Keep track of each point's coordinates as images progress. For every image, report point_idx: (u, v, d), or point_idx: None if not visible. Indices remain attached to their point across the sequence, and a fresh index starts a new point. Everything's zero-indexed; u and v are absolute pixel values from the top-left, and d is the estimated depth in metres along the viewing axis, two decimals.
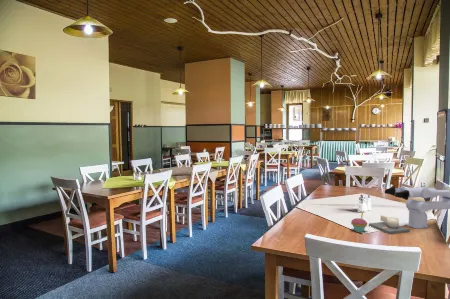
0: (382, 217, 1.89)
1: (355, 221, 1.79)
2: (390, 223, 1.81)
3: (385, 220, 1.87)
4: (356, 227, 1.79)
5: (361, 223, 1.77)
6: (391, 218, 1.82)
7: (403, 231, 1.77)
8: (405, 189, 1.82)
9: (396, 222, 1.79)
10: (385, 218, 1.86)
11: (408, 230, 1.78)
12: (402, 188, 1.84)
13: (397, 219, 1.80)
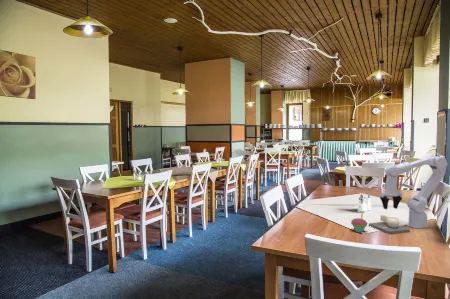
0: (382, 217, 1.89)
1: (355, 221, 1.79)
2: (390, 223, 1.81)
3: (385, 220, 1.87)
4: (356, 227, 1.79)
5: (361, 223, 1.77)
6: (391, 218, 1.82)
7: (403, 231, 1.77)
8: (397, 195, 1.87)
9: (396, 222, 1.79)
10: (385, 218, 1.86)
11: (408, 230, 1.78)
12: (394, 195, 1.87)
13: (397, 219, 1.80)
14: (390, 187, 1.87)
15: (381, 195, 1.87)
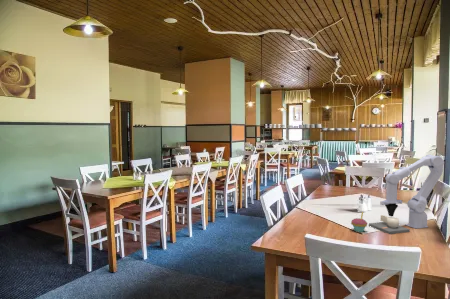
0: (382, 217, 1.89)
1: (355, 221, 1.79)
2: (390, 223, 1.81)
3: (385, 220, 1.87)
4: (356, 227, 1.79)
5: (361, 223, 1.77)
6: (391, 218, 1.82)
7: (403, 231, 1.77)
8: (397, 202, 1.87)
9: (396, 222, 1.79)
10: (385, 218, 1.86)
11: (408, 230, 1.78)
12: (394, 203, 1.87)
13: (397, 219, 1.80)
14: (390, 195, 1.87)
15: (381, 203, 1.87)
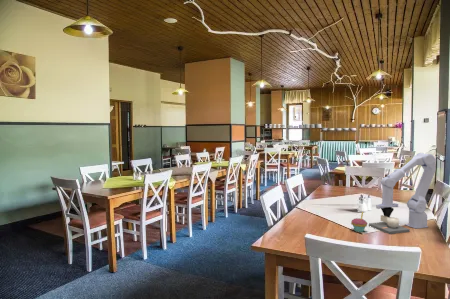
0: (382, 217, 1.89)
1: (355, 221, 1.79)
2: (390, 223, 1.81)
3: (385, 220, 1.87)
4: (356, 227, 1.79)
5: (361, 223, 1.77)
6: (391, 218, 1.82)
7: (403, 231, 1.77)
8: None
9: (396, 222, 1.79)
10: (385, 218, 1.86)
11: (408, 230, 1.78)
12: (390, 206, 1.86)
13: (397, 219, 1.80)
14: (386, 198, 1.86)
15: (377, 206, 1.86)
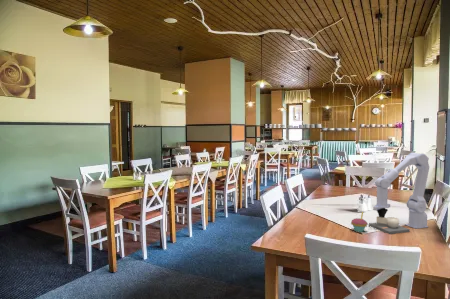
0: (379, 218, 1.86)
1: (355, 221, 1.79)
2: (394, 224, 1.79)
3: (383, 221, 1.84)
4: (356, 227, 1.79)
5: (361, 223, 1.77)
6: (391, 218, 1.82)
7: (403, 231, 1.77)
8: None
9: (398, 222, 1.80)
10: (383, 219, 1.84)
11: (408, 230, 1.78)
12: (386, 207, 1.85)
13: (397, 218, 1.82)
14: (382, 199, 1.84)
15: (375, 208, 1.83)
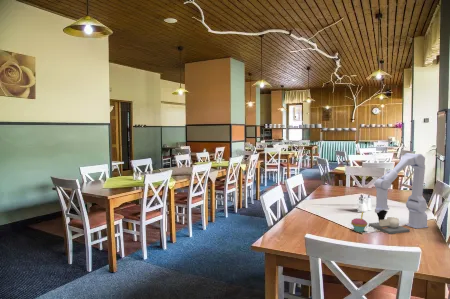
0: (383, 221, 1.80)
1: (355, 221, 1.79)
2: (398, 224, 1.80)
3: (387, 223, 1.80)
4: (356, 227, 1.79)
5: (361, 223, 1.77)
6: (392, 218, 1.82)
7: (403, 231, 1.77)
8: None
9: None
10: (387, 221, 1.80)
11: (408, 230, 1.78)
12: None
13: None
14: (383, 201, 1.79)
15: (376, 210, 1.77)
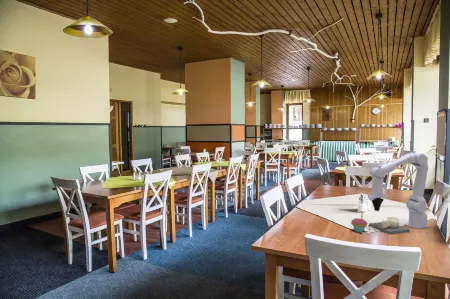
0: (386, 222, 1.78)
1: (355, 221, 1.79)
2: (398, 223, 1.80)
3: (388, 224, 1.79)
4: (356, 227, 1.79)
5: (361, 223, 1.77)
6: (393, 219, 1.81)
7: (403, 231, 1.77)
8: None
9: None
10: (389, 222, 1.79)
11: (408, 230, 1.78)
12: None
13: (393, 217, 1.84)
14: (377, 189, 1.82)
15: (370, 198, 1.80)
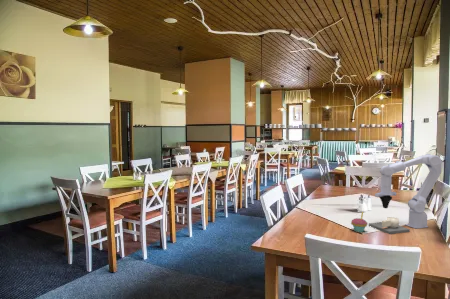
0: (386, 222, 1.78)
1: (355, 221, 1.79)
2: (398, 223, 1.80)
3: (388, 224, 1.79)
4: (356, 227, 1.79)
5: (361, 223, 1.77)
6: (393, 219, 1.81)
7: (403, 231, 1.77)
8: (391, 194, 1.89)
9: None
10: (389, 222, 1.79)
11: (408, 230, 1.78)
12: (389, 194, 1.88)
13: (393, 217, 1.84)
14: (385, 187, 1.88)
15: (376, 195, 1.88)
